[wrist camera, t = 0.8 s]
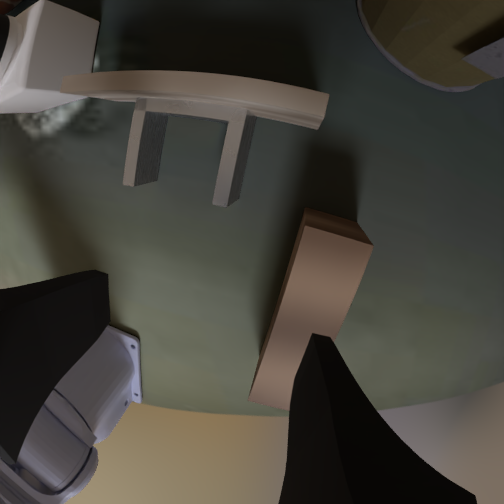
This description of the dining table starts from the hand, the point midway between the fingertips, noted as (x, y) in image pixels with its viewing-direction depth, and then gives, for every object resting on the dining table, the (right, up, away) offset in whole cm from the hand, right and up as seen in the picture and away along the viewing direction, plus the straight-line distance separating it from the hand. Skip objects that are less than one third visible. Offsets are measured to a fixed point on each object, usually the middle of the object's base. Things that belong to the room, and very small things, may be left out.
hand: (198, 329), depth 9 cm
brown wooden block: (+5, -1, +11) cm, 12 cm away
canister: (+14, +17, +3) cm, 22 cm away
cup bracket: (-2, +9, +8) cm, 12 cm away
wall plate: (-1, +12, +7) cm, 14 cm away
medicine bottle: (-14, +18, +8) cm, 24 cm away
